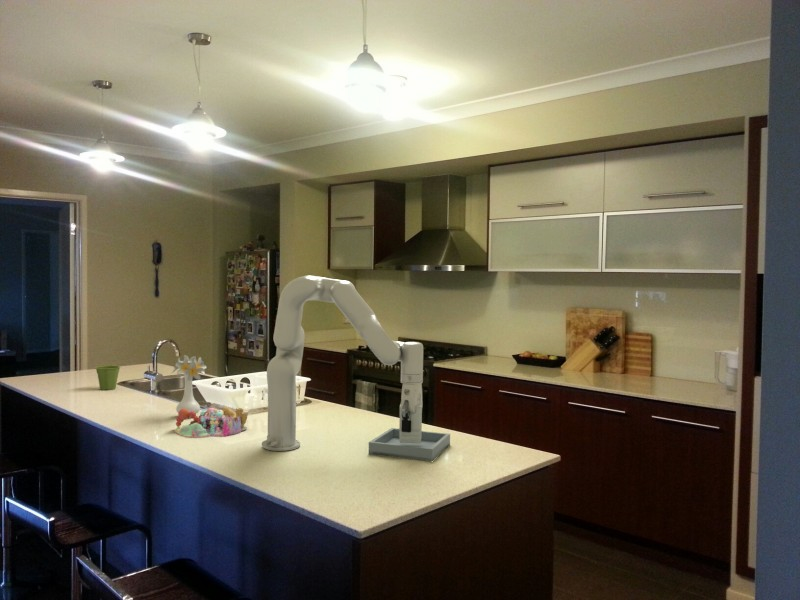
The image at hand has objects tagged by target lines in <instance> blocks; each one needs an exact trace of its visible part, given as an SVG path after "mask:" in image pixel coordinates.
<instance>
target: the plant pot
mask: <svg viewBox="0 0 800 600" xmlns="http://www.w3.org/2000/svg"><path fill="white" fill-rule="evenodd" d="M94 368H95V370H96V374H97V379H98V384H99V390H101V391H105V390H109V391H112V390H115V389H116V388H117V382H118V377H119V372H120V369H121V365H103V366H95V367H94Z"/></svg>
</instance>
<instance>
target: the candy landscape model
mask: <svg viewBox="0 0 800 600" xmlns="http://www.w3.org/2000/svg"><path fill="white" fill-rule="evenodd" d="M199 414H200V415H199V416H197V413H195V412H194V411H191V412H190V413H189V411H188V410H187V409H181V410H180V411H179V413H178V412H177V415H178V416H177V417H176V423H175V425H176V429H175V430H174V432H175V433H176V434H177V435H178V436H181V437H185V438H193V439H201V438H202V439H203V438H209V437H227V436H232V435H236V434H239V433H240V434H241V433H242V432H243V431H245V430H247V429H248V427H247V426H245V425H246V423H247V420H248V415H249V413H247V412H245V413H244V408H242V407H238V408H235V411H234V410H232V409H231V408H230V407H228V406H223V407H221V409H217V408H215V407H209V408H207V410H201V412H200V413H199ZM188 417H190V418H188ZM188 419H193V420H191V421H190V422H189V424H186V425H182V424H183V422H184V421H186V420H188Z"/></svg>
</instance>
